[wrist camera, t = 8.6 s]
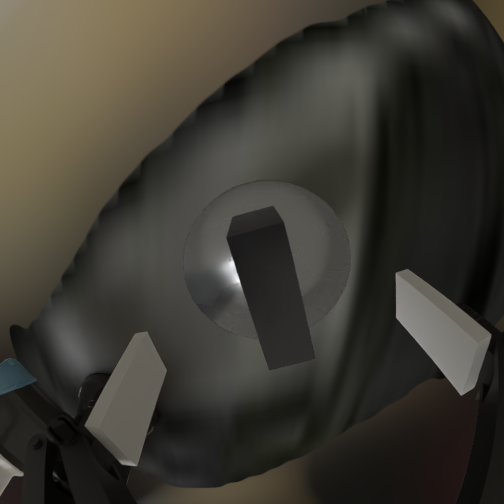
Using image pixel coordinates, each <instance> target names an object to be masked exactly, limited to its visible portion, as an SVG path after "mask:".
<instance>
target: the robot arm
mask: <svg viewBox="0 0 504 504" xmlns="http://www.w3.org/2000/svg"><path fill="white" fill-rule="evenodd" d="M396 318H397V319H398V320H399V322H400V323H401V324H402V325H403V326H404V327H405V328H406V329H407V331H408V332H409V333H410V334H411V335H412V336H413V337H414V339H415V340H416V341H417V342H418V343H419V344H420V346H421V347H422V348H423V349H424V350H425V351H426V353H427V354H428V355H429V356H430V357H431V359H432V360H433V361H434V362H435V363H436V365H437V366H438V367H439V368H440V370H441V371H442V372H443V373H444V374H445V376H446V377H447V378H448V379H449V381H450V382H451V383H452V385H453V386H454V387H455V388H456V389H457V391H458V392H459V393H460V395H463V394H464V393H466V392H467V391H469V390H471V389H472V388H474V387H475V384H476V382H477V379H478V377H479V378H480V379H481V381H482V385H481V387H480V389H479V392H478V394H477V396H476V400H478V398H479V396H480V399H479V408H478V416H477V422H476V428H475V434H474V439H473V445H472V449H471V454H470V458H469V462H468V466H467V469H466V473H465V476H464V480H463V483H462V486H461V489H460V492H459V495H458V498H457V501H456V504H504V332H500V331H499V330H498V329H497V328H495V327H494V326H493V325H492V324H491V323H489V322H488V321H487V320H486V319H484V318H482V316H481V315H479V314H478V313H476V311H474V310H473V309H472V308H470V307H469V306H466V305H464V304H461V303H458V304H456V305H455V304H454V303H452V302H451V301H450V300H449V299H447V298H446V297H445V296H443V295H442V294H441V293H439V292H438V291H437V290H435V289H434V288H433V287H431V286H430V285H429V284H427V283H426V282H425V281H423V280H422V279H421V278H419V277H418V276H417V275H415V274H414V273H412V272H411V271H410V270H408V269H407V270H404V271H401V272H397V273H396ZM166 372H167V369H166V368H165V366H164V364H163V362H162V360H161V358H160V356H159V354H158V352H157V350H156V348H155V346H154V344H153V342H152V340H151V338H150V336H149V334H148V332H140V333H135V335H134V336H133V338H132V340H131V341H130V343H129V345H128V347H127V348H126V350H125V352H124V353H123V355H122V357H121V359H120V360H119V362H118V364H117V366H116V367H115V369H114V371H113V373H112V375H111V376H110V375H105V374H94V375H91V376H88V377H87V378H86V379H85V381H84V382H83V384H82V385H81V387H80V390H79V400H78V405H77V410H76V415H75V417H74V419H73V418H72V417H71V416H70V415H69V414H68V413H67V412H66V411H64V410H63V409H62V408H61V407H60V406H59V405H58V404H57V403H56V402H55V401H54V400H53V399H52V398H51V397H50V396H49V395H48V393H47V392H46V391H45V390H44V389H43V388H42V387H41V386H40V385H39V384H38V382H37V380H36V378H34V377H32V376H31V375H30V374H29V372H28V371H27V370H26V369H25V368H24V367H23V366H22V365H21V364H20V363H19V362H18V361H17V360H15V359H7V360H5V361H4V362H2V363H1V364H0V496H1V494H2V492H3V491H4V489H5V487H6V486H7V484H8V483H9V481H10V479H11V478H12V476H23V489H22V504H137V503H136V501H135V500H134V498H133V497H132V495H131V493H130V491H129V489H128V488H127V486H126V484H127V481H128V477H129V474H130V470H131V467H132V466H137V464H138V461H139V457H140V454H141V451H142V447H143V444H144V440H145V438H146V436H147V435H149V434H150V433H151V432H152V431H153V429H154V427H155V424H156V421H157V416H158V415H157V411H156V408H155V405H156V402H157V399H158V396H159V393H160V390H161V387H162V384H163V381H164V378H165V375H166Z"/></svg>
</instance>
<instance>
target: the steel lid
mask: <svg viewBox="0 0 504 504" xmlns="http://www.w3.org/2000/svg"><path fill="white" fill-rule="evenodd" d="M350 262H351V254H350V245H349V241H348V236H347V234H346V231H345V229H344V226H343V224H342V223H341V221H340V219H339V217H338V216H337V214H336V213H335V212H334V211H333V209H332V208H331V207H330V206H329V205H328V204H327V203H326V202H325V201H324V200H322V199H321V198H320V197H318V196H317V195H316V194H314V193H312V192H310V191H309V190H307V189H305V188H302V187H300V186H297V185H294V184H291V183H287V182H283V181H275V180H261V181H253V182H248V183H244V184H241V185H239V186H236V187H233V188H232V189H230V190H228V191H226V192H224V193H223V194H221V195H220V196H218V197H217V198H215V199H214V200H213V201H212V202H211V203H210V204H209V205H208V206H207V207H206V208H205V209H204V210H203V211H202V212H201V214H200V215H199V216H198V217H197V219H196V221H195V222H194V224H193V226H192V228H191V230H190V232H189V235H188V237H187V241H186V244H185V248H184V257H183V267H184V275H185V280H186V283H187V286H188V289H189V292H190V294H191V296H192V298H193V300H194V301H195V303H196V304H197V306H198V307H199V308H200V310H201V311H202V312H203V313H204V314H205V315H206V316H207V317H208V318H209V319H210V320H211V321H213V322H214V323H215V324H217V325H218V326H220V327H221V328H223V329H225V330H227V331H229V332H231V333H234V334H236V335H239V336H243V337H247V338H254V339H259V341H260V344H261V347H262V350H263V353H264V356H265V359H266V362H267V365H268V368H269V370H272V369H276V368H280V367H285V366H289V365H293V364H297V363H300V362H304V361H308V360H312V359H315V356H314V351H313V346H312V341H311V337H310V332H309V327H311V326H313V325H314V324H316V323H317V322H318V321H320V320H321V319H322V318H323V317H324V316H325V315H326V314H327V313H328V312H329V311H330V310H331V309H332V308H333V307H334V305H335V304H336V303H337V301H338V299H339V298H340V296H341V295H342V292H343V290H344V288H345V286H346V283H347V280H348V276H349V271H350Z"/></svg>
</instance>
